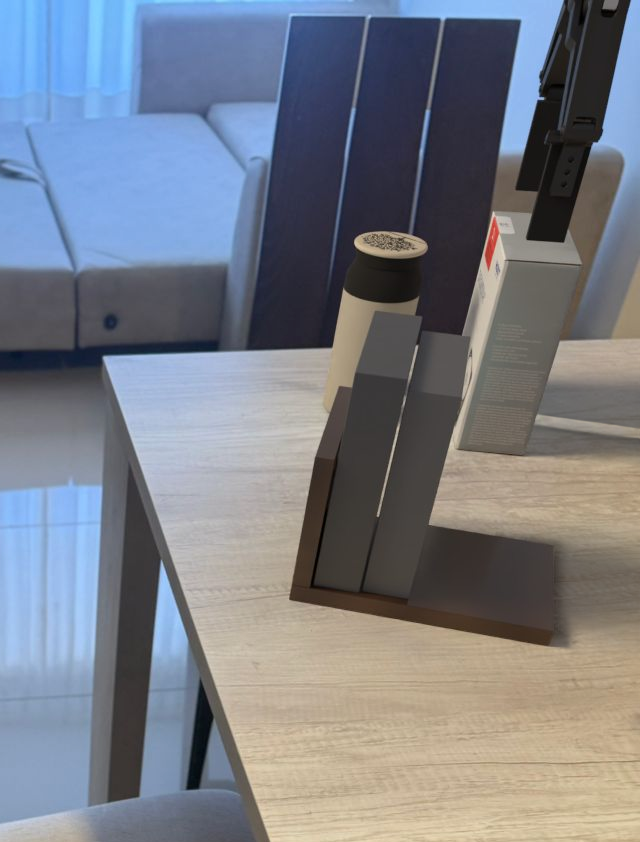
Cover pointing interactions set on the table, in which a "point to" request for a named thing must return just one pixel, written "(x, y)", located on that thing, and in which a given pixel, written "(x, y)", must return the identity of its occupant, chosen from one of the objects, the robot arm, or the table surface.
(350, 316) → the travel mug
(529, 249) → the hard drive box
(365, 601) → the book rack
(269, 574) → the table surface
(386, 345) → the grey books
